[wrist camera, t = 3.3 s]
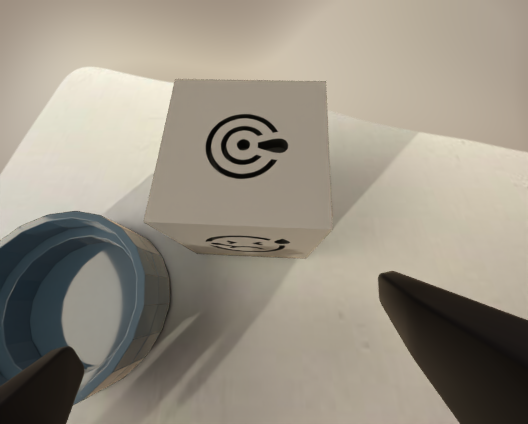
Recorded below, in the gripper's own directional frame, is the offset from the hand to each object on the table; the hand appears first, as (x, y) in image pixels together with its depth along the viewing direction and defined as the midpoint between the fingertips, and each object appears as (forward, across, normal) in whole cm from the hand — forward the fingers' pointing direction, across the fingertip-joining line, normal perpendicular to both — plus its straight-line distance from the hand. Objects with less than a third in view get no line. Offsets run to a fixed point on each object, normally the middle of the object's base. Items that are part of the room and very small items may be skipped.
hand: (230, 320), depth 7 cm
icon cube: (+17, -1, +2) cm, 17 cm away
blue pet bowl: (+13, +14, +6) cm, 20 cm away
